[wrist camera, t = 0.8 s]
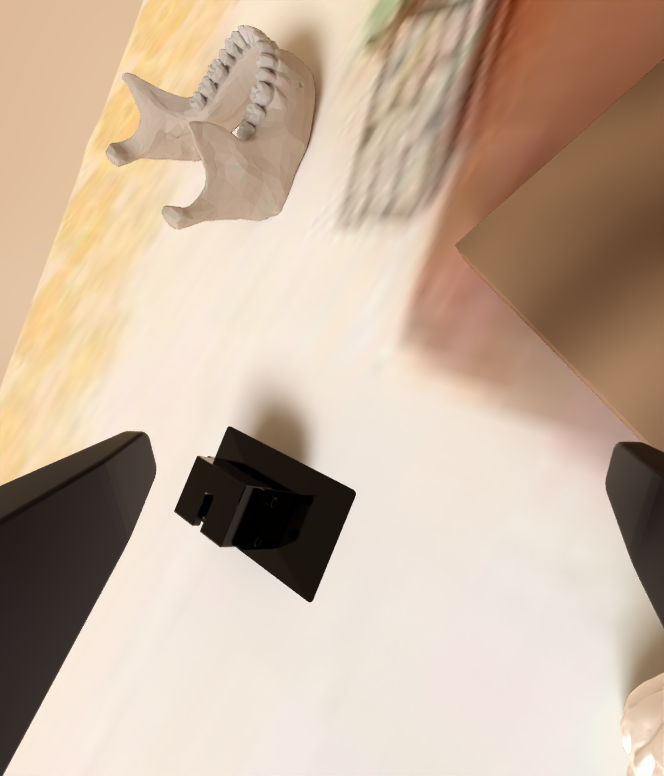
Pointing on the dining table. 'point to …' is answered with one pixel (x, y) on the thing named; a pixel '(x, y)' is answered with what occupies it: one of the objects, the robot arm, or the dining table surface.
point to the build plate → (267, 509)
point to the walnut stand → (593, 256)
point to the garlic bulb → (645, 728)
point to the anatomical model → (230, 129)
